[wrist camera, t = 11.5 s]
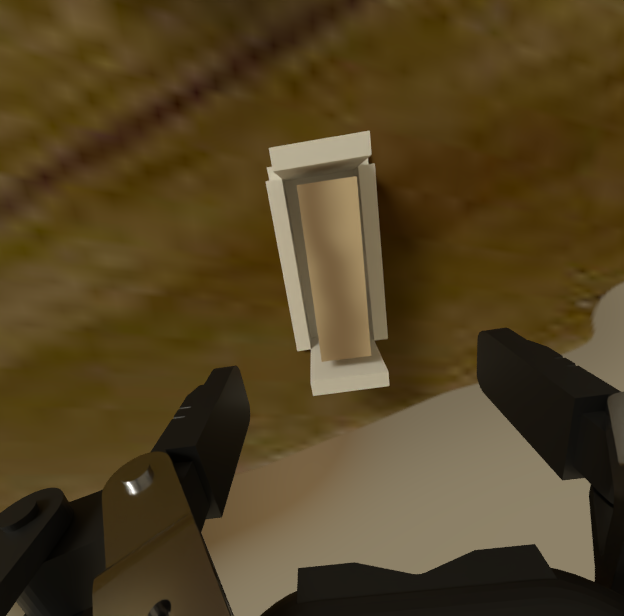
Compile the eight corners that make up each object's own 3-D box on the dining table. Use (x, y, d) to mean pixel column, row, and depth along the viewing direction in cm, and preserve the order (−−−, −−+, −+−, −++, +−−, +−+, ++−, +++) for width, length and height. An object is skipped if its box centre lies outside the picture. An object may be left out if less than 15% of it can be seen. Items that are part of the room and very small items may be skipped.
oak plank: (348, 181, 27) (356, 176, 22) (362, 333, 32) (371, 355, 27) (299, 188, 27) (296, 185, 22) (320, 338, 32) (321, 361, 27)
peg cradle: (366, 151, 30) (391, 126, 20) (381, 337, 36) (406, 383, 27) (267, 168, 30) (247, 151, 21) (300, 348, 37) (296, 397, 27)
